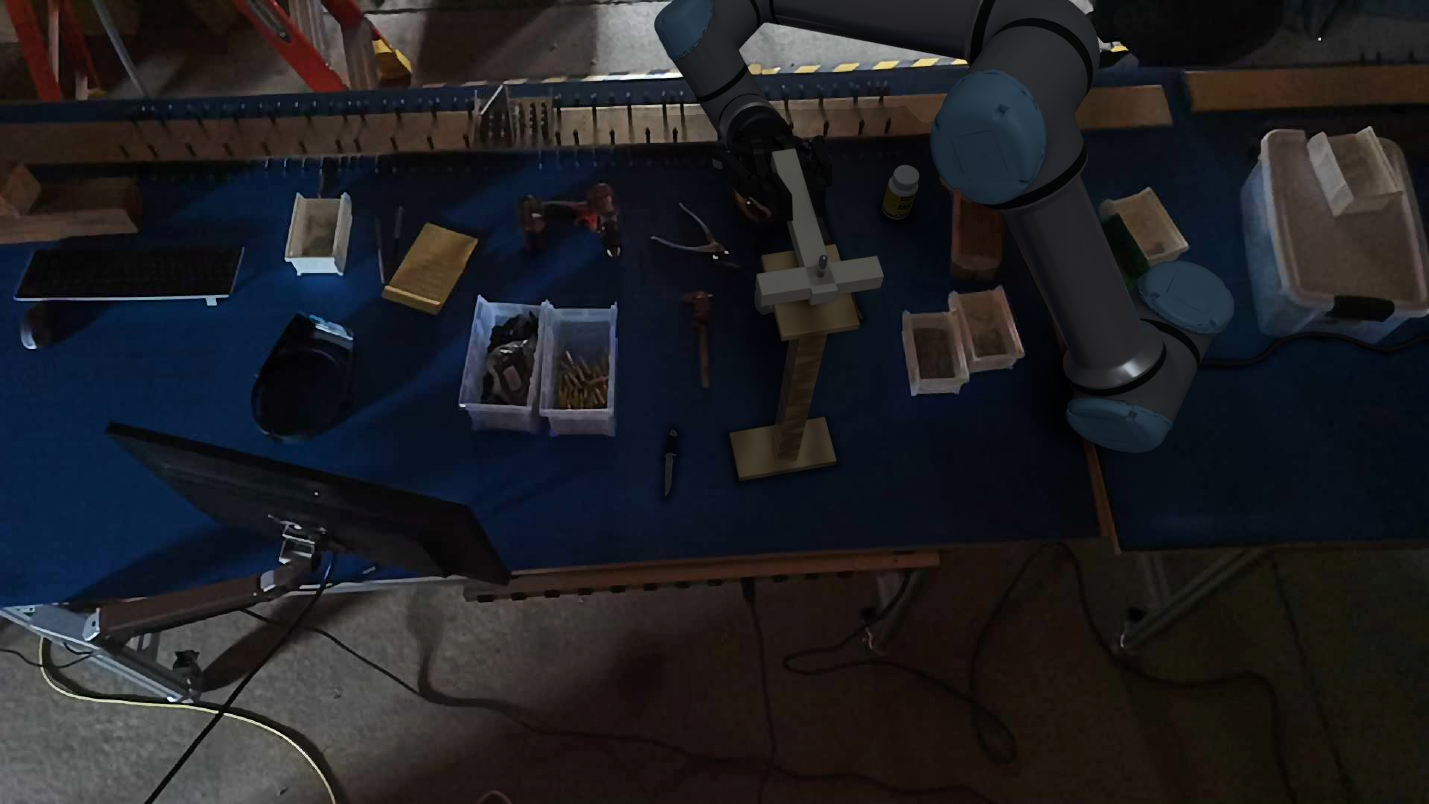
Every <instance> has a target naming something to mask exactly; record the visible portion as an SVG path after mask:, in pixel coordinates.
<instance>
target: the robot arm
mask: <svg viewBox="0 0 1429 804" xmlns="http://www.w3.org/2000/svg"><path fill="white" fill-rule="evenodd" d="M764 24H772V25H776V26H783V27H788V28H793V29H798V30H805V31H809V32H813V33H814V32H815V33H820V34H824V35H825V34H826V35H830V36H835V37H841V38H846V39H850V40H851V39H852V40H857V41H862V42H865V43H872V44H877V45H881V46H886V47H887V46H888V47H892V48H898V49H903V50H908V51H914V52H920V53H924V54H930V55H935V56H940V57H944V58H950V59H956V60H961V61H965V62H966V64H967V66H968V69H967V70H966V72H965V73H964V75H963V76H962V77H961V78H960V79H959V80H958V81H956V82H955V84H954V85H953V86H952V87H951V88H950V90H949V91H948V92H947V94H946V96H945V97H944V99H943V102H942V103H941V106H940V108H939V110H938V111H937V113H936V115H935V116H934V119H933V123H932V124H931V128H930V135H929V149H930V153H931V154H930V155H931V158H932V161H933V164H934V166H935V169H936V170H937V172H938V174H939V176H940V177H941V179H942V180H943V181H944V182H945V184H946V185H948V187H949V188H950V189H952V190H953V191H955V190H957V189H958V190H959V191H961V197H962V198H965V199H967V200H969V201H971V202H974V203H976V204H979V205H981V206H982V207H983V208H985V209H986V210H989V211H991V212H995V213H996V212H997V213H1001V215H1002V216H1003V218H1004V220H1005V222H1006V224H1007V227H1008V229H1009V231H1010V232H1011V235H1012V237H1013V239H1014V241H1015V243H1016V245H1017V247H1018V249H1019V252H1020V254H1021V255H1022V257H1023V260H1024V261H1025V263H1026V266H1027V267H1028V270H1029V272H1030V274H1031V276H1032V278H1033V280H1034V282H1035V284H1036V287H1037V288H1038V291H1039V293H1040V295H1041V296H1042V299H1043V301H1044V303H1045V305H1046V307H1047V309H1048V311H1049V313H1050V315H1051V317H1052V319H1053V321H1054V324H1055V325H1056V328H1057V330H1058V331H1059V334H1060V336H1061V338H1062V340H1063V342H1064V344H1065V346H1066V348H1067V349H1066V351H1065V353H1064V356H1063V360H1062V368H1063V371H1064V374H1065V376H1066V379H1067V382H1068V385H1069V387H1070V388H1071V390H1072V392H1073V396H1072V398H1071V399H1070V400H1069V401H1068V402H1067V403H1066V406H1067V407H1066V410H1065V419H1066V422H1067V423H1068V425H1069V426H1070V427H1071V429H1072V430H1073V431H1074V432H1075V433H1077V434H1078V435H1079V436H1080V437H1082V438H1084V439H1085V440H1087V441H1088V442H1091V443H1094V444H1095V445H1097V446H1100V447H1103V448H1105V449H1109V450H1111V451H1116V452H1120V453H1121V452H1122V453H1130V454H1131V453H1132V454H1138V453H1146V452H1149V451H1152V450H1154V449H1156V448H1158V447H1159V446H1160V445H1161V444H1162V443H1163V442H1164V440H1165V438H1166V436H1167V435H1168V432H1170V431H1171V430H1172V428H1173V426H1174V422H1175V419H1176V418H1177V415H1178V413H1179V411H1180V409H1181V406H1182V404H1183V403H1184V400H1185V398H1186V396H1187V394H1188V392H1189V389H1190V387H1191V385H1192V382H1193V380H1194V378H1195V376H1196V374H1197V371H1198V369H1199V367H1200V366H1203V367H1204V366H1217V367H1245V366H1249V365H1254V364H1257V363H1259V362H1261V361H1263V360H1264V359H1266V358H1267V357H1268V356H1270V355H1271V354H1272V353H1273V352H1274V351H1275V350H1276V349H1278V348H1279V347H1280V346H1281V345H1282V344H1285V343H1287V342H1290V341H1294V340H1297V339H1302V338H1332V339H1338V340H1343V341H1346V342H1349V343H1352V344H1355V345H1357V346H1360V347H1363V348H1366V349H1369V350H1373V351H1377V352H1385V353H1386V352H1389V353H1391V352H1397V351H1401V350H1404V349H1406V348H1409V347H1411V346H1414V345H1415V344H1417V343H1420V342H1423V341H1425V342H1429V335H1425V334H1424V335H1420V336H1417V337H1415V338H1413V339H1411V340H1408V341H1406V342H1404V343H1401V344H1398V345H1393V346H1381V345H1376V344H1372V343H1368V342H1366V341H1364V340H1361V339H1358V338H1355V337H1352V336H1349V335H1345V334H1342V333H1337V332H1325V331H1307V332H1305V331H1304V332H1299V333H1294V334H1291V335H1288V336H1284V337H1283V338H1280V339H1278V340H1277V341H1275V342H1274V343H1273V344H1272V345H1271V346H1269V347H1268V348H1267V349H1266V350H1265V351H1264V352H1262V353H1261V354H1260V355H1258V356H1256V357H1253V358H1250V359H1247V360H1231V361H1230V360H1203V359H1204V356H1205V354H1206V353H1207V351H1208V348H1209V346H1210V344H1211V343H1212V341H1213V340H1214V339H1215V337H1217V335H1218V334H1220V333H1222V332H1224V330H1225V329H1226V328H1227V327H1228V325H1229V323H1230V322H1231V320H1232V319H1233V316H1234V313H1235V299H1234V297H1233V295H1232V293H1231V291H1230V290H1229V288H1227V287H1226V284H1225V282H1224V281H1223V280H1222V279H1221V278H1220V277H1219V276H1218V275H1217V274H1215V273H1214V272H1212V271H1211V270H1209V269H1208V268H1206V267H1204V266H1202V265H1200V264H1197V263H1194V262H1190V261H1186V260H1178V259H1177V260H1176V259H1175V260H1171V261H1170V260H1165V261H1160V262H1159V263H1156V264H1154V265H1152V266H1151V267H1150V268H1149V269H1148V270H1147V271H1146V272H1144V273H1143V274H1141V275H1140V276H1139V278H1138V279H1137V281H1136V284H1135V285H1134V287H1133V288H1132V289H1131V290H1130V291H1128V287H1127V285H1126V283H1125V280H1124V278H1123V276H1122V273H1121V270H1120V268H1119V266H1118V263H1117V261H1116V258H1115V256H1114V254H1113V252H1112V249H1111V246H1110V244H1109V242H1108V239H1107V237H1106V234H1105V232H1104V230H1103V227H1102V225H1101V222H1100V219H1099V218H1098V215H1097V213H1096V210H1095V208H1094V205H1093V203H1092V200H1091V198H1090V196H1089V192H1088V191H1087V189H1086V186H1085V184H1084V181H1083V178H1082V177H1081V174H1082V172H1083V171H1084V169H1085V167H1086V165H1087V164H1088V160H1089V150H1088V148H1087V145H1086V143H1085V141H1084V138H1083V135H1082V132H1081V129H1080V127H1079V124H1078V123H1077V120H1076V113H1077V111H1078V110H1079V107H1080V106H1081V105H1082V103H1083V102H1084V100H1085V98H1086V97H1087V95H1088V94H1089V92H1090V91H1091V89H1092V88H1093V85H1094V83H1095V82H1096V79H1097V75H1098V73H1099V68H1100V62H1101V49H1100V42H1099V37H1098V33H1097V31H1096V28H1095V27H1094V25H1093V23H1092V21H1091V19H1089V17H1088V16H1087V15H1086V13H1085V12H1084V11H1083V10H1082V9H1081V8H1080V7H1078V6H1077V4H1076V3H1074V2H1073V1H1071V0H671V1H670V2H669V3H668V4H667V5H664V7H663V8H662V9H661V10H660V11H659V12H658V13H657V15H656V16H655V18H654V22H653V28H654V31H655V33H656V35H657V37H658V40H659V41H660V43H661V45H662V48H663V49H664V51H665V54H666V55H667V57H668V59H670V60H671V62H672V63H673V64H674V66H675V68H677V71H678V72H679V73H680V74H681V76H682V77H683V79H684V80H685V82H686V83H687V85H688V86H689V88H690V89H691V91H692V92H693V94H694V97H695V98H696V101H697V102H698V104H699V106H700V107H701V109H702V111H703V112H704V114H705V116H706V117H707V118H708V121H709V122H710V124H711V125H712V127H713V129H714V131H715V132H716V133H717V134H718V136H719V137H720V139H721V140H722V143H723V144H724V146H725V148H726V150H723V149H719V148H714V149H712V150H711V162H712V171H713V174H715V175H718V176H720V177H722V178H723V179H724V180H725V181H726V182H727V183H728V184H729V186H730V187H732V188H733V190H734V191H735V192H736V193H737V194H738V195H739V196H740V197H741V198H742V199H750V198H753V194H755V195H756V194H757V195H758V202H759V205H762V206H767V205H768V206H769V205H775V207H776V208H777V211H778V212H779V213H780V216H781V217H782V218H783V220H784V221H785V223H787V222H789V221H793V202H792V194H791V192H790V191H789V189H788V188H787V186H786V185H785V183H784V182H783V180H782V179H781V178H780V176H779V175H778V173H773V172H772V168H771V157H772V152H775V151H782V150H789V149H795V150H796V153H797V157H798V160H799V163H800V166H801V170H802V173H803V176H804V180H805V183H806V186H807V190H808V193H809V196H810V200H811V203H812V206H813V210H814V213H815V214H816V215H817V217H822V218H823V217H826V195H827V191H826V190H827V188H829V187H832V186H833V161H832V159H831V157H830V155H829V153H828V151H827V149H826V137H825V136H826V135H822V134H818V135H817V134H816V135H815V136H814V137H813V138H809V139H807V141H803V139H802V138H801V136H798V135H794V133H793V130H792V128H791V126H790V124H789V123H788V122H787V120H786V119H785V118H784V117H783V116H782V115H781V113H780V112H779V111H778V110H777V108H776V107H775V106H774V105H773V104H772V103H771V102H770V101H769V100H768V98H767V97H766V96H765V94H764V92H763V91H762V89H761V87H760V86H759V83H757V80H756V79H755V77H754V75H753V74H752V72H751V70H750V69H749V66H748V65H747V63H746V60H745V59H744V57H743V55H742V53H741V51H740V49H741V48H742V47H743V46H744V45H745V44H746V43H747V42H748V41H749V39H750V38H751V37H752V36H754V35H755V34H756V32H757V31H758V30H759V29H760V28H761V27H762V26H763V25H764ZM803 154H805V155H803ZM806 156H807V157H808V158H807V157H806Z"/></svg>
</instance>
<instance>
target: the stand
mask: <svg viewBox="0 0 1429 804" xmlns="http://www.w3.org/2000/svg"><path fill="white" fill-rule="evenodd" d="M825 249H826V252H827V256H828V259H829V262H830V263H833V262H840V261H842V260H841V257H840V254H839V251H838V248H837V245H836V244H835V243H834V244H833V245H827V246H825ZM760 257H761V258H760V262H761V266H762V270H763V273H767V272H773V271H780V270H787V269H793V268H800V267H799V263H798V260H797V256H796V253H795V249H794V250H788V251H781V252H775V253H767V254H762V255H761V256H760ZM772 306H773V310H774V312H773V313H774V317H775V321H776V325H777V329H778V332H779V337H780V340H781V342H784V341H788V346H787V351H786V357H785V362H784V363H785V364H784V369H783V375H782V381H781V388H780V394H779V400H778V405H777V412H776V416H775V422H774V423H775V424H774V425H767V426H761V427H756V428H749V429H744V430H738V431H731V432H729V441H730V447H731V451H732V455H733V461H734V465H735V470H736V474H737V480H738V482H744V481H748V480H754V479H755V480H756V479H760V478H766V477H772V476H778V475H783V474H789V473H796V472H800V471H806V470H812V469H819V468H824V467H829V466H835V465H836V463H837V457H836V453H835V450H834V446H833V443H832V439H831V434H830V431H829V428H828V423H827V419H826V417H825V416H821V417H820V416H819V417H815V418H809V419H808V416H809V413H810V409H811V404H812V400H813V396H814V391H815V387H816V383H817V379H818V375H819V371H820V366H821V363H822V358H823V355H824V352H825V351H824V350H825V346H826V342H827V338H828V335H829V334H835V333H842V332H848V331H854V330H859V328H860V326H861V323H860V319H859V318H858V316H857V313H856V310H855V306H854V303H853V300H852V296H851V293H844V294H838V295H837V296H836V300H835V302H830V303H823V304H817V305H810V302H809V299H805V300H799V301H792V302H786V303H779V304H773V305H772Z"/></svg>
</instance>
